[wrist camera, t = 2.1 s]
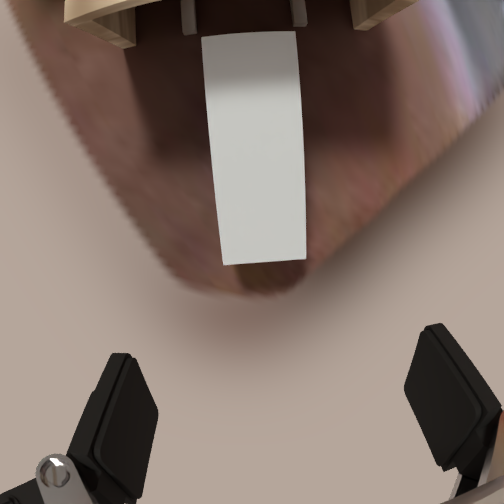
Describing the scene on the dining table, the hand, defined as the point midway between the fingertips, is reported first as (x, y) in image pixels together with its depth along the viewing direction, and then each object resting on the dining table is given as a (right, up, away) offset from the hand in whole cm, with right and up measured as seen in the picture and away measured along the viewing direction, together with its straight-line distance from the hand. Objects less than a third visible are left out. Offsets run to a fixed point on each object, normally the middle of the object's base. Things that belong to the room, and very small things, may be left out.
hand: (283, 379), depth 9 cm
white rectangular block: (-1, +13, +15) cm, 19 cm away
